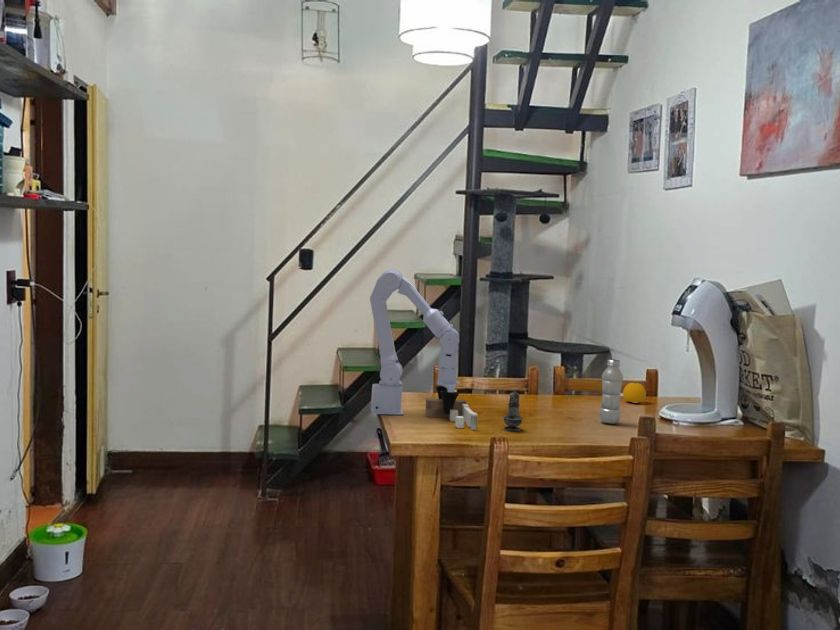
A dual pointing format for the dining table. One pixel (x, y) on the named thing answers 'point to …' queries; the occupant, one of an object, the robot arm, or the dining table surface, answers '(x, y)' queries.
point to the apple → (634, 392)
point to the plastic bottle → (611, 393)
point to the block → (441, 407)
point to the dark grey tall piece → (513, 413)
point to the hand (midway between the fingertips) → (445, 411)
